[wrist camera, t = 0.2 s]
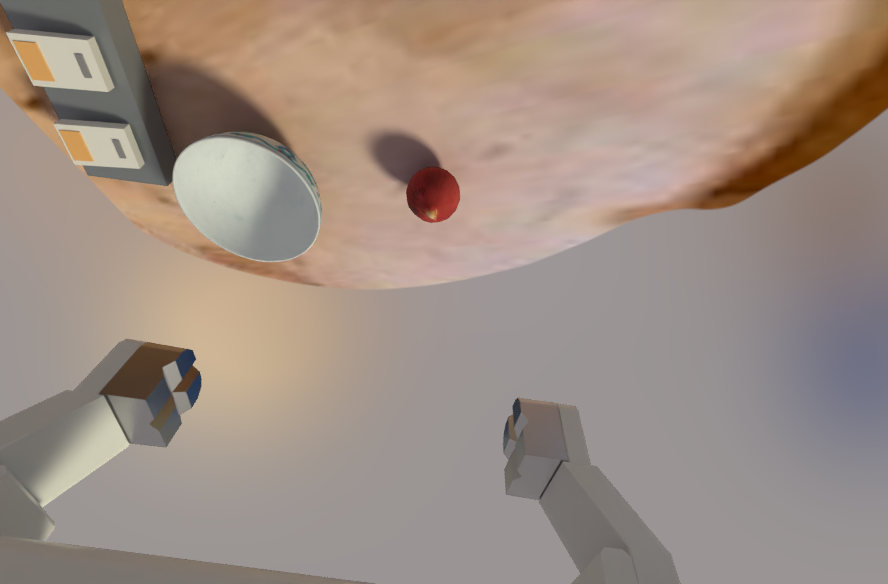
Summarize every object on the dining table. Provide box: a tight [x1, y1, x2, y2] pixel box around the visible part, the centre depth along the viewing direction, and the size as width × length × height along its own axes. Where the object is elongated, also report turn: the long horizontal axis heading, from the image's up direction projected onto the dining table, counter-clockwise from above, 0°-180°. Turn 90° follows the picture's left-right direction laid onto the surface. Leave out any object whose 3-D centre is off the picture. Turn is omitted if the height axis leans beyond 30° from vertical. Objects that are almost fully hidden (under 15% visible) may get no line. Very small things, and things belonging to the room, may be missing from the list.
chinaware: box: [172, 131, 321, 262], centre depth 48 cm, size 15×15×8 cm
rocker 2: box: [54, 119, 145, 169], centre depth 45 cm, size 4×6×2 cm
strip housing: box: [0, 0, 176, 186], centre depth 42 cm, size 26×9×3 cm, turn 174°
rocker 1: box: [6, 29, 115, 92], centre depth 40 cm, size 4×6×2 cm
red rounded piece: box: [406, 167, 460, 223], centre depth 47 cm, size 6×6×8 cm
